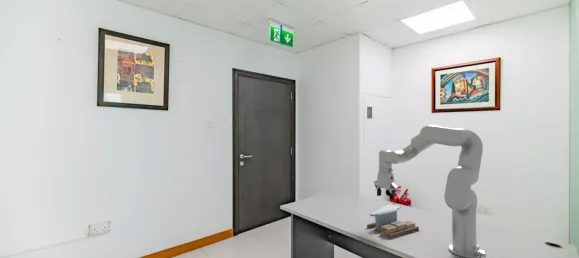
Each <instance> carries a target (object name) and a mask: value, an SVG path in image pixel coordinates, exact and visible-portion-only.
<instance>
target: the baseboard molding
mask: <svg viewBox="0 0 579 258" xmlns="http://www.w3.org/2000/svg"><path fill="white" fill-rule="evenodd" d="M401 207H402V206H401V205H397V204H396V203H395V202H394V203H388V202H386V204H385V205H384V206H382V207H380V208H378V209H377V210H375V211H373V212H371V213H370V214H369V215H370V216H372V215H373V217H375V214H376V213H381V212H385V211H390V210H396V211H398V210H399V209H400V208H401Z"/></svg>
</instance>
